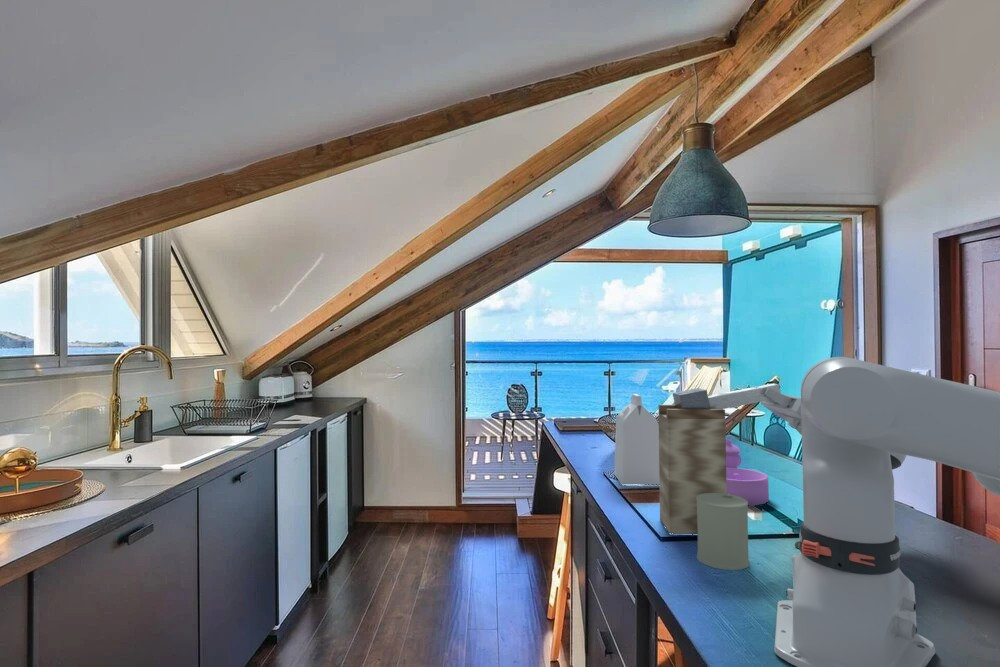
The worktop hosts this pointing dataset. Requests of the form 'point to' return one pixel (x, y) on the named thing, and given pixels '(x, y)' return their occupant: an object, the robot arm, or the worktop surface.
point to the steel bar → (721, 398)
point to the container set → (744, 478)
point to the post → (689, 463)
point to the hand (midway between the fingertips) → (761, 390)
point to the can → (722, 531)
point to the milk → (636, 445)
